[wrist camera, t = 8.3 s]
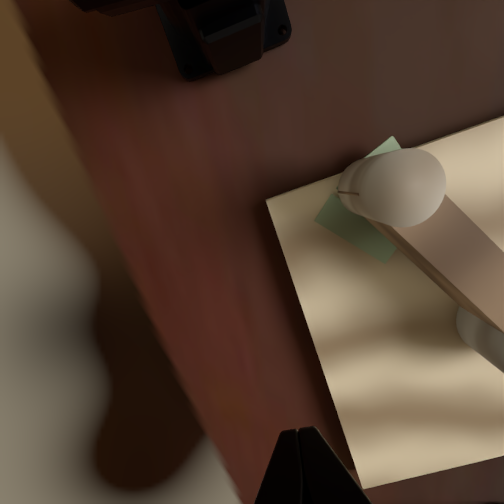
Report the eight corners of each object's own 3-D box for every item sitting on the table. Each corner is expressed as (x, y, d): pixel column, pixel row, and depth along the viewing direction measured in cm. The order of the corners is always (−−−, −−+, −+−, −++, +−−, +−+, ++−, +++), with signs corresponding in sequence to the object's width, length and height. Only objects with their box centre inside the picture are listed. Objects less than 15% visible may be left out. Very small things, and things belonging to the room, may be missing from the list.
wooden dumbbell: (560, 312, 18) (674, 361, 13) (492, 367, 19) (574, 433, 14) (377, 131, 16) (429, 108, 11) (311, 203, 17) (332, 212, 12)
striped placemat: (260, 183, 18) (260, 183, 17) (642, 45, 16) (685, 30, 15) (356, 469, 23) (363, 491, 22) (663, 394, 21) (696, 412, 19)
